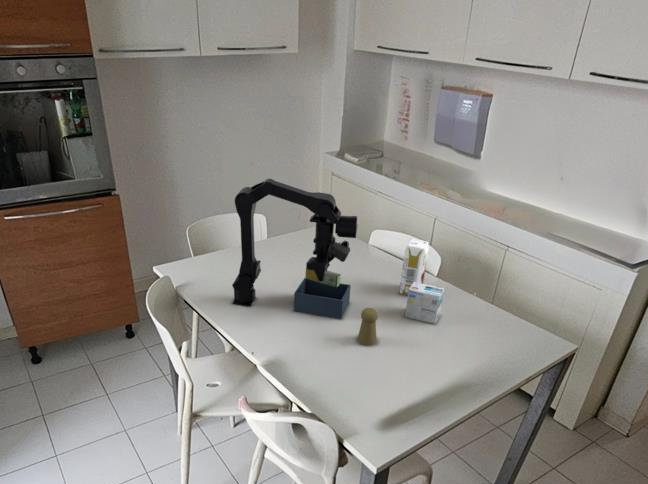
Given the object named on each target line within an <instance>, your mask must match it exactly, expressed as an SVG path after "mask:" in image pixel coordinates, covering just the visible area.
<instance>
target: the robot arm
mask: <svg viewBox="0 0 648 484" xmlns="http://www.w3.org/2000/svg"><path fill="white" fill-rule="evenodd" d="M268 196H272V197H275V198H278V199H280V200H284V201H287V202H290V203H293V204H296V205H299V206H302V207H304V208H306V209H308V210H309V211H310V212H311V213H312V214H313V215H311V216H310V219H309V222H310V223H315V235H314V236H315V237H314V238H313V241H312V242H313V243H314V249H313V251H312V255H314V256H311V257H310V258H309V259H308V260H307V261H306V264H305V265H306V266H305V270H306V269H308V270H314V271H315V274H316V276H317V278H318V280H319V281H321V282H322V281H323V277H324V272H325V271H326V270H327V271H328V269H329V267H330V265H331V264H330V263H331V262H332V261H333V260H335V259H337V260H339V262H342V263H344V262H345V261H346V260H347V258H348V256H349V254H350V252H351V247H350V242H349V241H348V240H345V239H346V238H347V239H356V238H357V234H358V216H357V215H342V212H341V210H340V209H339V207H338V206H337V202H336V198H335V197H334V195H332V194H330V193H325V192H319V191H318V192H312V191H306V190H303V189H300V188H297V187H295V186H292V185H289V184H286V183H283V182H280V181H276V180H274V179H273V178H266V179H265V180H263V181H261V182H259V183H257V184H254V185H253V186H245V187H242V188H241V190H240V191H239V192H238V193H237V194H236V196H235V198H234V206H235V209H236V213H237V215H238V217H239V223H240V244H241V245H240V246H241V247H240V248H241V262H240V266H239V270H238V271H239V272H238V274H237V276H236V278H234V279H235V280H234V281H233V283H232V285H231V286H232V288H233V297H234V300H233V301H232V304H234V305H239V306H245V307H251V305H253V303H254V302H255V301H256V299H257V297H256V288H255V282H256V280H257V279H259V276H260V274H261V272H262V268H261V263H262V262H261V260H257V258H256V254H255V253H256V251H255V223H254V222H255V220H254V219H255V218H254V215H255V213H256V207H257V203H259V201H261V200H263V199H264V198H265V197H266V198H267V197H268ZM334 227H335V228H334ZM334 231H335V232H334ZM334 233H335V234H336V236H337V237H338V238H345V239H344V240H343V241H341V242H340V241H339V242H337V241H336V236H334Z"/></svg>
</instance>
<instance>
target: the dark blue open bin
mask: <svg viewBox="0 0 648 484" xmlns="http://www.w3.org/2000/svg"><path fill="white" fill-rule="evenodd" d="M351 286H352V285H351V284H348V283H346V284H345V283H341V282H340V285H339V286H338V287H333V286H330V285H326V284H323V283H319V282H316V281H312V280H309V279H305V277H304V278H303V279H302V281H301V282H300V284H299V285H298V287H297V288H296V290H295V291H294V293H293V312H296V313H301V314H308V315H313V316H317V317H319V316H320V317H325V318H331V319H335V320H342V319H343V317H344V314H345V313H346V311H347V309H348V307H349V304H350V298H351Z"/></svg>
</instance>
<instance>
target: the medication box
mask: <svg viewBox="0 0 648 484" xmlns="http://www.w3.org/2000/svg"><path fill="white" fill-rule="evenodd" d="M304 278H305V279H309V280H312V281H316V282H319V283H323V284H326V285H330V286H333V287H338V286H339V285H340V283H341V273H339V272H335V271H330V270H328V269H327V270H326V271H325V272H324V277H323V281H322V282H321V281H319V280H318V278H317V276H316V274H315V271H314V270H308V269H306V268H305V277H304Z"/></svg>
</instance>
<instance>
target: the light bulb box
mask: <svg viewBox="0 0 648 484" xmlns="http://www.w3.org/2000/svg"><path fill="white" fill-rule="evenodd" d="M444 291H445V287H441V286H435V285H431V284H426V283H423V284H421V283H417V282H414V283H413V284H412V285H411V287H410V288H409V291H408V295H407V299H406V306H405V313H404V317H405V318H409V319H413V320H417V321H421V322H426V323H430V324H433V325H435V324H436V322H437V321H438V319H439V317H440V315H441V308H442V303H443V298H444Z"/></svg>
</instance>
